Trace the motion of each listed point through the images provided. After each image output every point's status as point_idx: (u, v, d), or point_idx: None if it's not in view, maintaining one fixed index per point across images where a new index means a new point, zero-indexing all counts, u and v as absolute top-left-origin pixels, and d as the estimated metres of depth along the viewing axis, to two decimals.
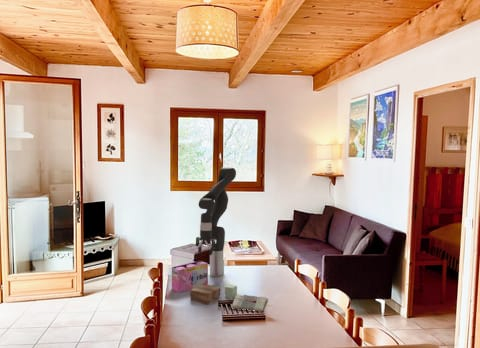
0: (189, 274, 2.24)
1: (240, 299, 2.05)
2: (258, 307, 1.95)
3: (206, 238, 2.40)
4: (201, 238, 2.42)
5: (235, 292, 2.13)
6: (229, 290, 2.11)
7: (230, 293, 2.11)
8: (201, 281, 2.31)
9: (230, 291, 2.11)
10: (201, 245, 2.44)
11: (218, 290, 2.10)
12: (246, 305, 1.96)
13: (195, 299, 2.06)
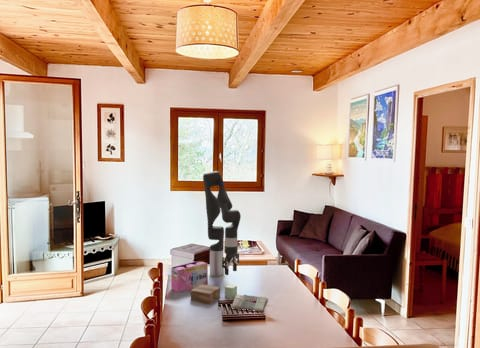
0: (189, 274, 2.24)
1: (240, 299, 2.05)
2: (258, 307, 1.95)
3: (234, 254, 2.14)
4: (230, 256, 2.10)
5: (235, 292, 2.13)
6: (229, 290, 2.11)
7: (230, 293, 2.11)
8: (201, 281, 2.31)
9: (230, 291, 2.11)
10: None
11: (218, 290, 2.11)
12: (246, 305, 1.96)
13: (196, 299, 2.06)
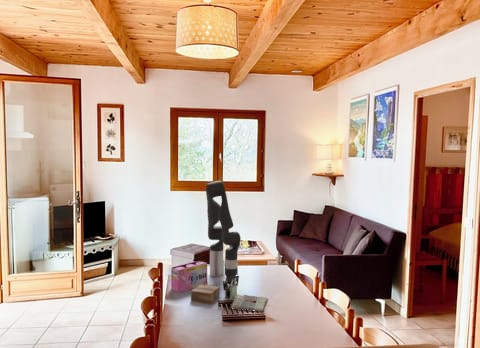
0: (189, 274, 2.24)
1: (240, 299, 2.05)
2: (258, 307, 1.95)
3: (234, 276, 2.14)
4: (230, 278, 2.11)
5: (235, 292, 2.13)
6: None
7: (230, 293, 2.11)
8: (201, 281, 2.31)
9: (230, 291, 2.11)
10: None
11: (218, 289, 2.12)
12: (246, 305, 1.96)
13: (196, 300, 2.05)
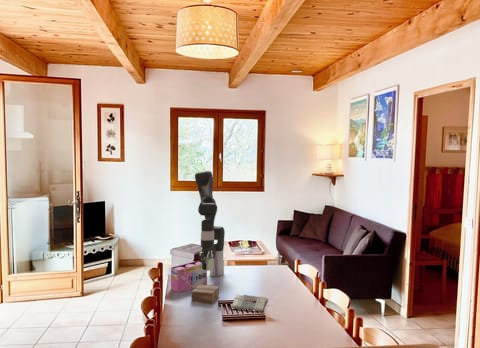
0: (189, 274, 2.24)
1: (240, 299, 2.05)
2: (258, 307, 1.95)
3: (210, 248, 2.10)
4: (206, 250, 2.06)
5: (212, 264, 2.09)
6: (206, 262, 2.06)
7: (206, 265, 2.06)
8: (200, 281, 2.31)
9: (206, 263, 2.06)
10: (203, 259, 2.07)
11: (217, 289, 2.12)
12: (246, 305, 1.96)
13: (197, 300, 2.05)
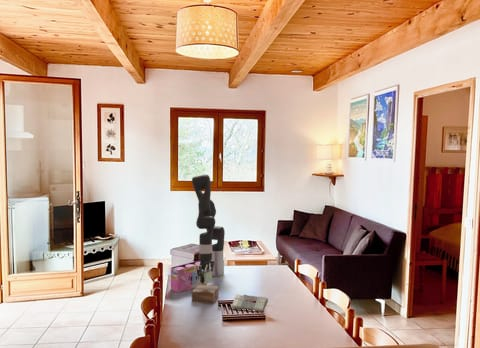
0: (188, 274, 2.24)
1: (240, 299, 2.05)
2: (258, 307, 1.95)
3: (208, 261, 2.10)
4: (204, 263, 2.06)
5: (210, 277, 2.09)
6: (204, 275, 2.07)
7: (204, 278, 2.07)
8: None
9: (204, 276, 2.07)
10: (201, 273, 2.08)
11: (217, 288, 2.13)
12: (246, 305, 1.96)
13: (198, 300, 2.04)
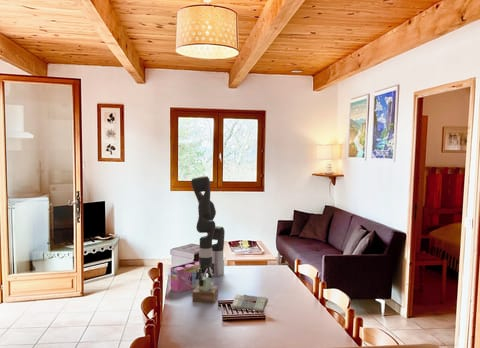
0: (188, 274, 2.24)
1: (240, 299, 2.05)
2: (258, 307, 1.95)
3: (208, 265, 2.10)
4: (204, 267, 2.06)
5: (209, 284, 2.09)
6: (203, 282, 2.07)
7: (204, 285, 2.07)
8: None
9: (204, 283, 2.07)
10: (200, 276, 2.07)
11: (217, 288, 2.13)
12: (246, 305, 1.96)
13: (198, 300, 2.04)
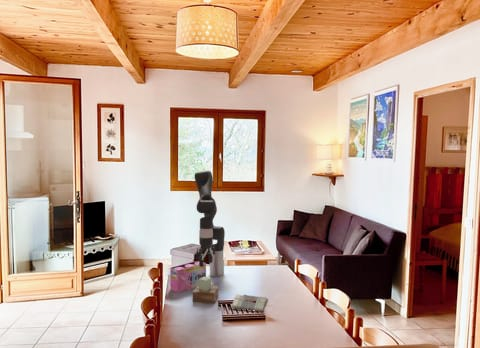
0: (188, 274, 2.24)
1: (240, 299, 2.05)
2: (258, 307, 1.95)
3: (209, 245, 2.09)
4: (204, 248, 2.06)
5: (209, 284, 2.09)
6: (203, 282, 2.07)
7: (204, 285, 2.07)
8: None
9: (204, 283, 2.07)
10: None
11: (217, 288, 2.13)
12: (246, 305, 1.96)
13: (199, 300, 2.04)
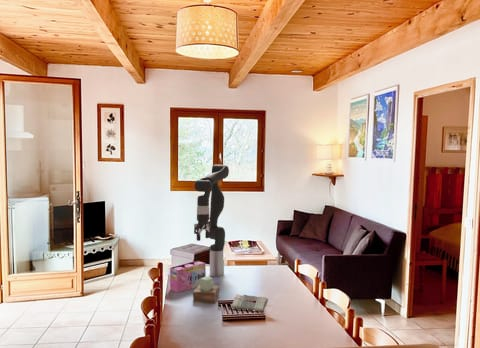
0: (188, 274, 2.24)
1: (240, 299, 2.05)
2: (258, 307, 1.95)
3: (206, 222, 2.26)
4: (201, 223, 2.23)
5: (211, 284, 2.09)
6: (204, 282, 2.07)
7: (205, 285, 2.07)
8: (199, 281, 2.31)
9: (205, 283, 2.07)
10: None
11: (218, 288, 2.13)
12: (246, 305, 1.96)
13: (199, 300, 2.04)
